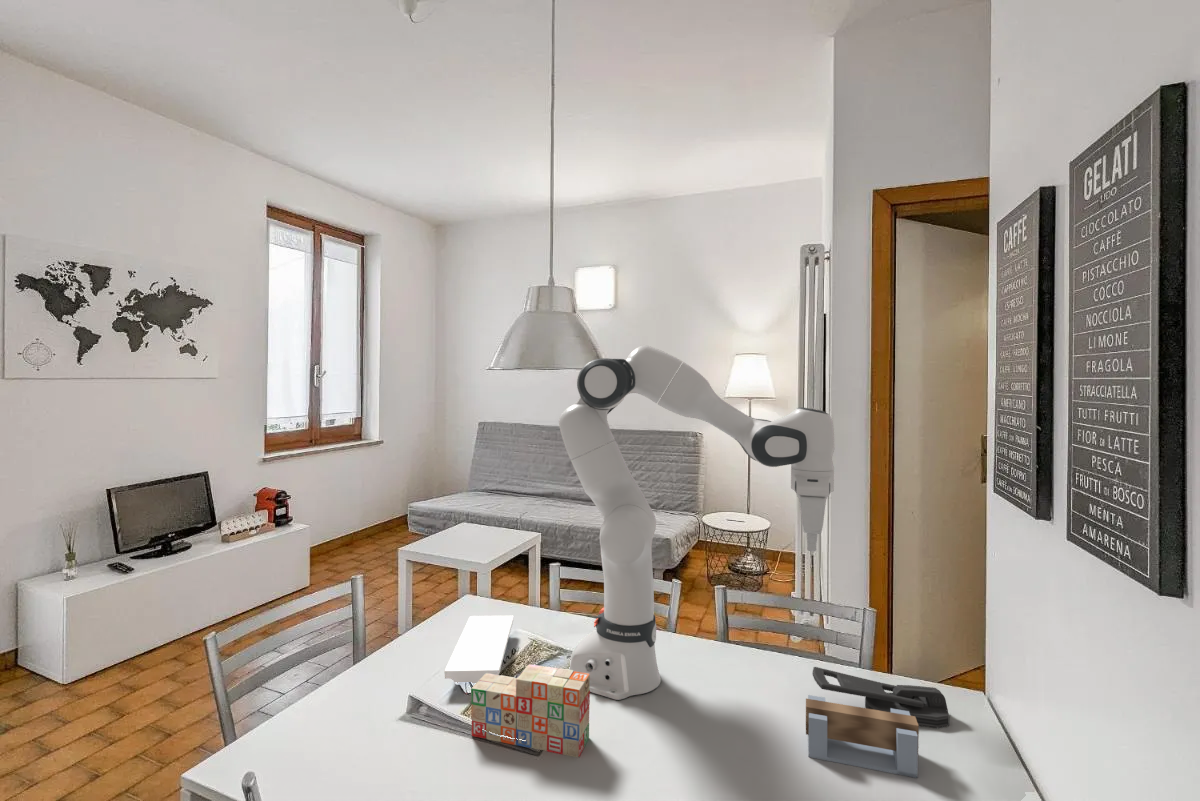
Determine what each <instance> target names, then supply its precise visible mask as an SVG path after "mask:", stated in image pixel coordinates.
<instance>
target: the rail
mask: <svg viewBox="0 0 1200 801" xmlns="http://www.w3.org/2000/svg"><path fill="white" fill-rule="evenodd" d="M809 713H812V714H818V715H823V716H827V738H829V739H834V740H839V741H845V742H850V743H856V744H861V745H867V746H872V747H878V748H883V749H888V750H894V751H896V728H899V729H905V730H911V731H916V732H917V735H918V739H919V737H920V736H919V734H920V733H919V729H920V728H919V727H920V726H919V725H918V723H917V720H916V717H915V716H910V715H904V714H897V713H891V712H885V711H879V710H873V709H867V708H865V707H860V706H855V705H847V704H842V703H838V702H837V703H836V702H831V701H830V702H829V701H826V702H825V701H818V700H812V699H808V698H805V735H807V736H808V735H809Z"/></svg>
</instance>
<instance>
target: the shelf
mask: <svg viewBox="0 0 1200 801" xmlns="http://www.w3.org/2000/svg"><path fill="white" fill-rule="evenodd" d="M514 617H515V616H514V615H470V616H469V617H468V619H467V622H466V624H465V626H464V627H463V630H462V633H461V635H460V636H459V639H458V641H457V643H456V645H455V647H454V649H453V652H452V654H451V656H450V658H449V660H448V662H447V664H446V666H445V669H444V679H449V680H452V681H453V683H454V682H457V683H458V682H472V683H477V682H478V681H479V680H480V679H481V678H482V677H483V676H484V675H485V674H486V673H489V674H495V675H500V673H501V668H502V664H503V661H504V656H505V653H506V651H507V650H506V649H507V646H508V642H509V639H510V635H511V630H512V627H513V625H514V624H513V623H514Z"/></svg>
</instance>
